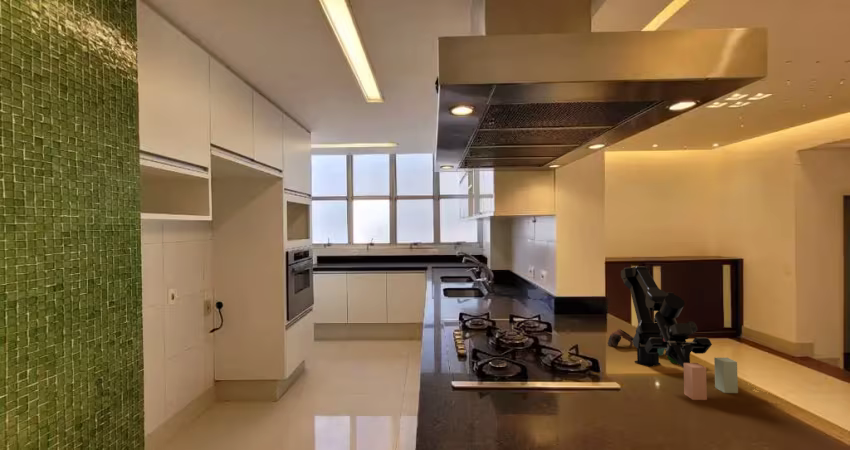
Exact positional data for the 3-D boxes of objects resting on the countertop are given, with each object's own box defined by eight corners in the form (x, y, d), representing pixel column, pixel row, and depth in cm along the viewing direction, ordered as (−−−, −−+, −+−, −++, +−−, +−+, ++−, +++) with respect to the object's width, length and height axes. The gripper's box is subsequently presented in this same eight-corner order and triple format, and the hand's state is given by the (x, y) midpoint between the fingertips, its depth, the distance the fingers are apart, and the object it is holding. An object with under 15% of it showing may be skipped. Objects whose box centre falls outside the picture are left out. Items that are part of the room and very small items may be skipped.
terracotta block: (684, 394, 129) (683, 362, 129) (697, 394, 129) (696, 362, 129) (692, 399, 124) (692, 367, 125) (706, 399, 124) (706, 367, 124)
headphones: (609, 343, 191) (619, 327, 190) (628, 356, 184) (639, 340, 184) (600, 341, 182) (610, 325, 181) (620, 355, 176) (630, 338, 175)
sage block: (715, 387, 134) (714, 357, 134) (728, 387, 134) (727, 357, 134) (724, 392, 129) (723, 361, 130) (737, 393, 129) (737, 361, 129)
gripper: (647, 312, 136) (666, 356, 125) (707, 312, 135) (731, 356, 124) (637, 331, 144) (654, 374, 133) (693, 331, 143) (715, 374, 132)
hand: (688, 370), depth 130 cm, fingers closed
